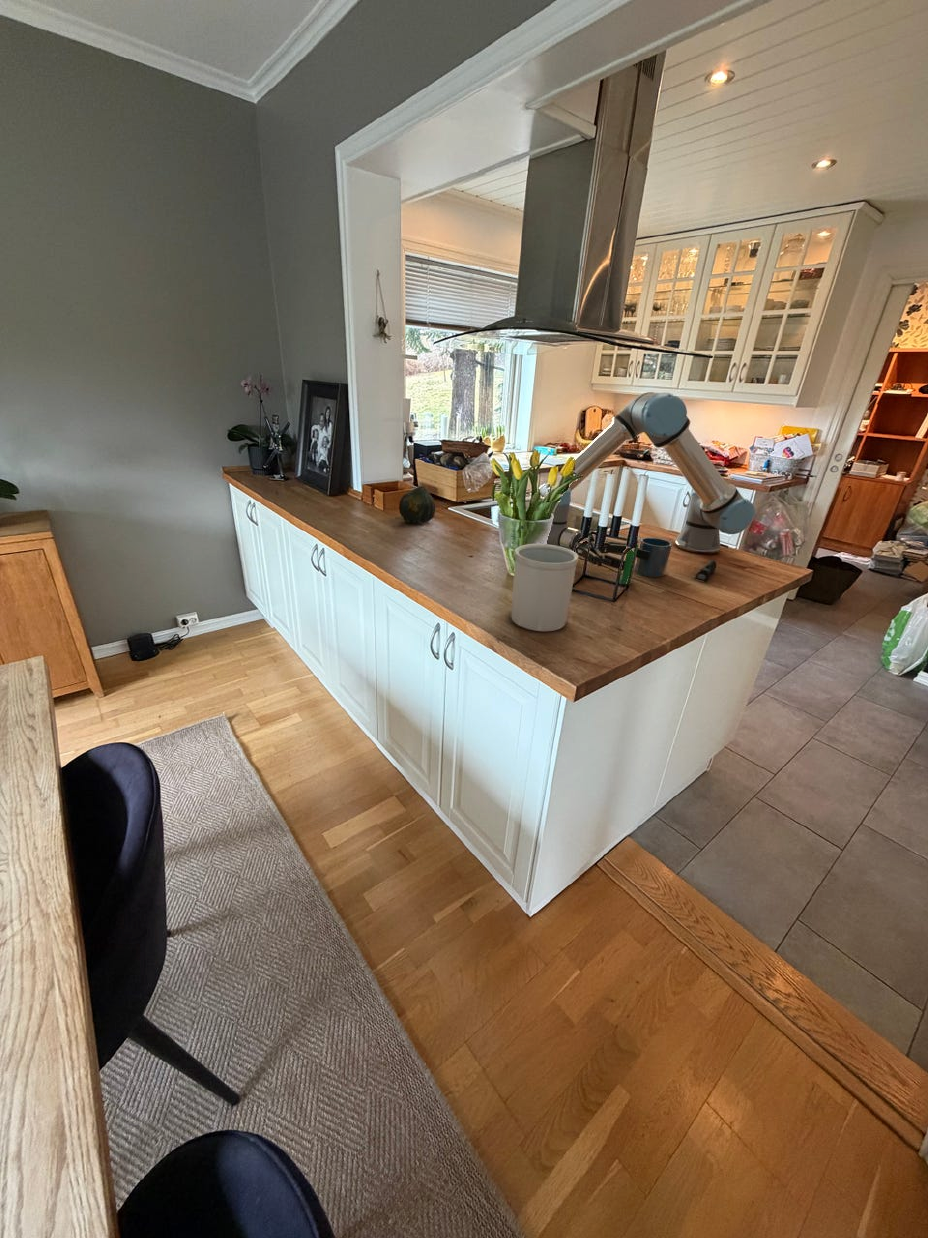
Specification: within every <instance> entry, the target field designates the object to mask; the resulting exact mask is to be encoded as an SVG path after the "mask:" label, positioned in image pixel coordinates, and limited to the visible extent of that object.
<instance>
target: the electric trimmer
mask: <svg viewBox="0 0 928 1238" xmlns="http://www.w3.org/2000/svg"><path fill="white" fill-rule="evenodd" d="M716 569H717V561H716V560H711V561H710V562H709V563H708V564H706V565H705V566H703V567H702V568H701V569H700V570H698V571H697V573H696V574H695V577H694V578H695V580H696V581H698V582H702V583H706V582H708V581H709V578H710V575H712V574H714V573H715V572H716Z"/></svg>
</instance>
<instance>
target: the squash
mask: <svg viewBox="0 0 928 1238" xmlns="http://www.w3.org/2000/svg"><path fill="white" fill-rule="evenodd" d="M398 511H399V515H400V516H401V517H402V519H403V520H404V521H405V522H406V523H408V524H412V523H413V524H418V523H419V522H420V523H424V522H429V521H431V520H433V518H434V517H435V514H436V503H435V500H434V498H433V496H432V495H431V493H430V492H429V490H428V489H427V488H426V486H425V485H420V486H417V487H415V488H413V489H411V490H410V491H408V492H406V493H404V494H403V495H402V497H401V498H400V500H399V504H398Z"/></svg>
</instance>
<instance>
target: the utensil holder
mask: <svg viewBox="0 0 928 1238" xmlns="http://www.w3.org/2000/svg"><path fill="white" fill-rule="evenodd" d="M579 557H580V556H579V555H578V554H577V553H576V552H574V551H572V550H570V549H567V548H564V547H560V546H555V545H548V544H543V543H529V544H523V545H520V546H518V547H516V548H515V550H514V559H515V560H514V572H513V584H512V597H511V598H512V599H511V611H510V615H511V617H510V618H511V620H512V622H514V624H515V625H517V626H519V627H521V628H523V629H527V630H529V631H533V632H553V631H557V630H560V629H562V628H563V627H564V626H566V624H567V620H568V615H569V609H570V603H571V598H572V592H573V585H574V580H575V575H576V574H575V573H576V570H577V569H576V568H577V564H578V562H579Z"/></svg>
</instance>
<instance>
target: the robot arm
mask: <svg viewBox="0 0 928 1238" xmlns="http://www.w3.org/2000/svg"><path fill="white" fill-rule="evenodd" d="M690 425H691V420H690V418H689V417H688V409H687V406H686V404H685V402H684V401H683V399H682V398H681V397H680V396H678V395H675V394H673V393H671V392H654V391H649V392H648V391H647V392H644V393H641V394H639V395H637V396H636V397H634V398H633V399H632V400H631V401H630V402H629V403H627V404H626V405H625V406H624V407H623V408H622V409H621V410H620V411H619V412H618V413H616V415H615V416H613V417H612V420H611V424H610V425H609V426H607V428H606V429H604V430H603V431H602V432H601V433H600V434H599V435H598V436H597V437H596V438H595V439H594V440H593V441H592V442H591V443H590V444H588V446H586V447H585V449H584V450H582V451H581V452H580V453H579V454H577V456H575V458H574V459H575V473H576V474H577V475H583V477H581V478H580V479H578V480H577V481H575V482H573V483H572V484H571V485H570V487H569V488H568V490H567V491H566V492H565V493H564V494H563V496H562V497H561V501H560V502H559V503H558V505H557V507H556V509H555V512H554V519H553V526H552V528H551V531H550V533H549V536H548V540H547V544H548V545H555V546H560V547H564V548H567V549H570V550H572V551H573V548H574V545H575V543H576V542H577V541H578V540H579V538H580V536H581V531H582V530H580V529H576V528H572V527H568V520H569V519H568V518H569V512H570V506H571V501H572V498H571V497H572V495H571V494H572V492H573V491H574V490H575V489H576V488H577V487H579V485H580V484H581V483H582V482H584V480H586V479H587V478H588V477H589V476H590V475H591V474H592V473H593V472H595V471H596V470H597V469H598V468H599V467H600V466H601V465H602V464H603V463H604V462H606V461H607V460H608V459H609V458H610V457H611V456H612V455H613V454H614V453H615V452H617V451H618V449H620V448H621V447H622V446H623V445H624V444H625V443H626V442H631V441H633V440H634V439H635V438H636V437H637V436H639V435H642V434H645V435H646V436H647V438H648V439H649V441H650V443H652V445H653V446H654V447H655V448H656V449H663V450H664V451H665V453H666V455H667V456H668V457H669V458H670V460H671V461H672V463H673V464H674V465H675V466H676V468H677V469H678V470H679V472H680V473H681V475H682V476H683V477H684V479H685V480H686V483H688V484H689V487H691V489H692V490H693V491H692V493H691V497H690V502H689V507H688V511H687V514H686V519H685V523H684V526H683V527H682V529H681V530H680V532H679V533H678V536H677V537H676V539H675V542H674V546H675V547H676V548H678V549H680V550H683V551H684V552H685V551H686V552H688V553H693V554H700V555H701V554H703V555H714V554H717V553H719V552H720V549H721V547H723V548H726V549H728V548H729V545H727V544H724V543H721V537H720V535H721V534H720V532H721V533H723V534H724V533H725V534H727V535H737V534H740V533H742V532H744V531H745V530H746V529H747V528H749V527H750V525H751V524H752V523H753V521H754V517H755V515H756V507H755V505H754V504H753V503H752V501H751V500H749V499H747V498H744V497H743V495H742V494H741V493H740V491H739V490H738V489H737V487H736V485H734V484H732V483H727V482H726V480H724V478H723V476H722V475H721V474H720V471H719V470H718V469H717V468H716V466H715V465H714V464H713V462H712V460H711V459H710V457H709V456H708V455H707V453H706V452H705V450H704V449H703V448H702V446H701V444H700V443H699V442H698V440H697V439H696V437H695V436H694V434H693V433H692V432H691V430H690ZM538 489H540V493H541V496H542V497H545V496H546V494H547V493H548V492H549V490H550V484H549V482H547V483H543V484H542V485H540V486H539V487H538ZM595 541H596V540H595V537H594V535H593V534H592V537H591V539H590V545H591V547H590V551H589V556H588V560H587V554H588V545H587V544H588V542H587V541H585V542H583V543H582V544H580V545H579V546H578V547H577V548H576V553H577V554H578V557H582V558H583V559H585V560H587V561H588V562H590V563H591V564H592V565H597V567H602V566H603V565H605V566H608V567H611V568H613V569H614V568H615V569H616V570H620V569H619V567H620V563H621V561H622V560H624V561H623V565H622V569H621V570H620V571H623V570H624V566H625V559H622V558H618V557H615V556H612V555H608V554H609V553H611V554H624V553H623V551H624V550H625V549H626V546H627V543H628V542H621V541H614V540H609V539H605V542H604V549H598V548H596V547H595V548H594V547H593V546H594V544H595ZM639 548H640V547H638V550H637V554H636V559H637V558H640V559H643V560H646V561H649V557H650V552H649V551H646V550H642V549H639ZM604 554H605V555H604Z"/></svg>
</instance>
